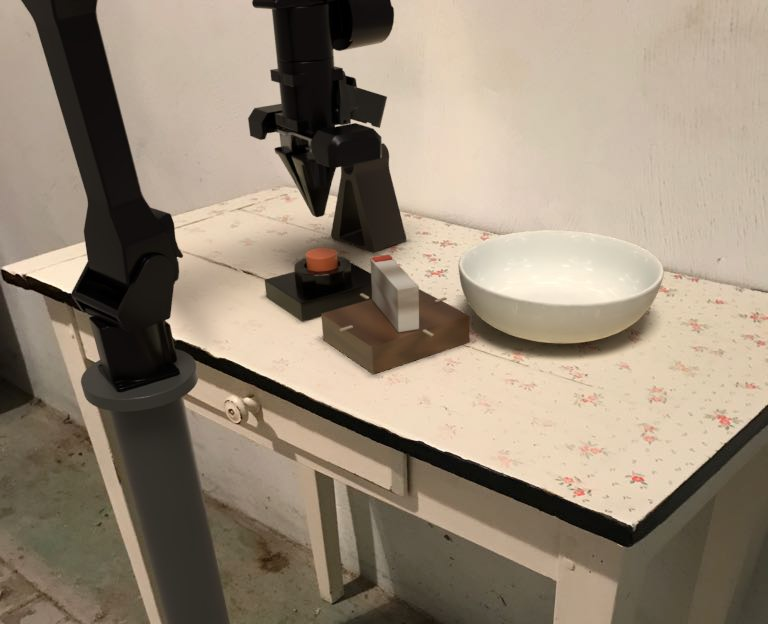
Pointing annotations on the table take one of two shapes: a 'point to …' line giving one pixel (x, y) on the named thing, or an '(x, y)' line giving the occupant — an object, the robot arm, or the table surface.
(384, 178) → the phone stand
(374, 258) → the silver metal brick
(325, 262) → the button
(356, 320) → the brown wooden block base
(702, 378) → the table surface
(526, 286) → the serving bowl
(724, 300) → the table surface
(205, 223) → the table surface
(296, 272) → the button block
